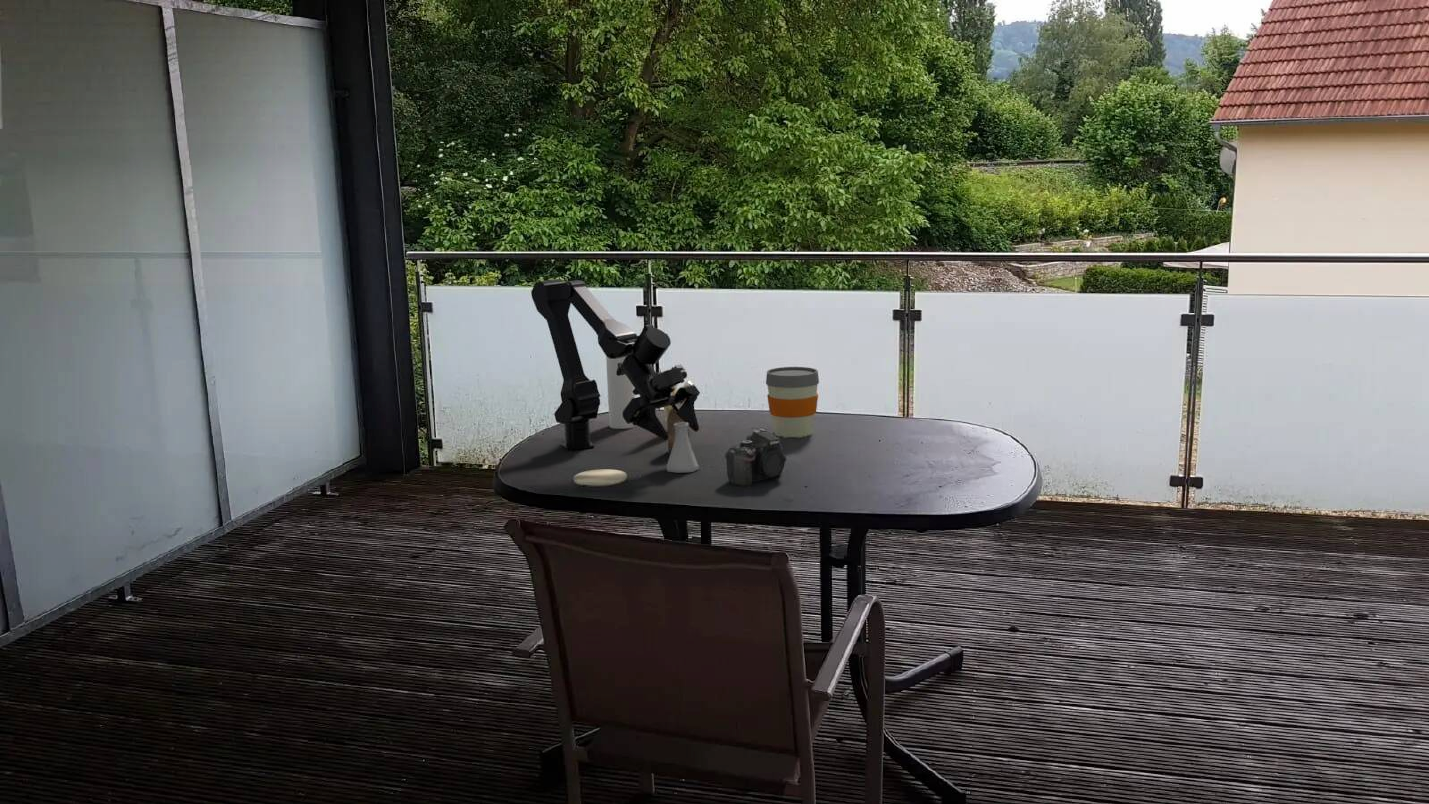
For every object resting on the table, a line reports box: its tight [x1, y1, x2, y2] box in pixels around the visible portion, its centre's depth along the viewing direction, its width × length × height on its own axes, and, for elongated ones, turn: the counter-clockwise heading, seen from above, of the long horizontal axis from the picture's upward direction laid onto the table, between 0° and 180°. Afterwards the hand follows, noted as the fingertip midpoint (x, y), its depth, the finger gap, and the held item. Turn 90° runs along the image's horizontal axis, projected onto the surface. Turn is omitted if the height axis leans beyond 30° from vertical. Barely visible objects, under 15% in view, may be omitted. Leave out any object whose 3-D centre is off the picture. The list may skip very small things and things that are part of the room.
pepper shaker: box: [666, 408, 691, 454], centre depth 257 cm, size 5×5×10 cm
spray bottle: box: [605, 355, 637, 430], centre depth 283 cm, size 7×7×25 cm
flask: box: [665, 422, 700, 474], centre depth 242 cm, size 7×7×10 cm
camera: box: [724, 428, 787, 487], centre depth 233 cm, size 13×10×10 cm
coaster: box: [573, 468, 628, 487], centre depth 237 cm, size 11×11×1 cm
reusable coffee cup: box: [765, 366, 820, 438], centre depth 271 cm, size 13×12×15 cm
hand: (682, 434), depth 241 cm, fingers open, 9 cm apart
